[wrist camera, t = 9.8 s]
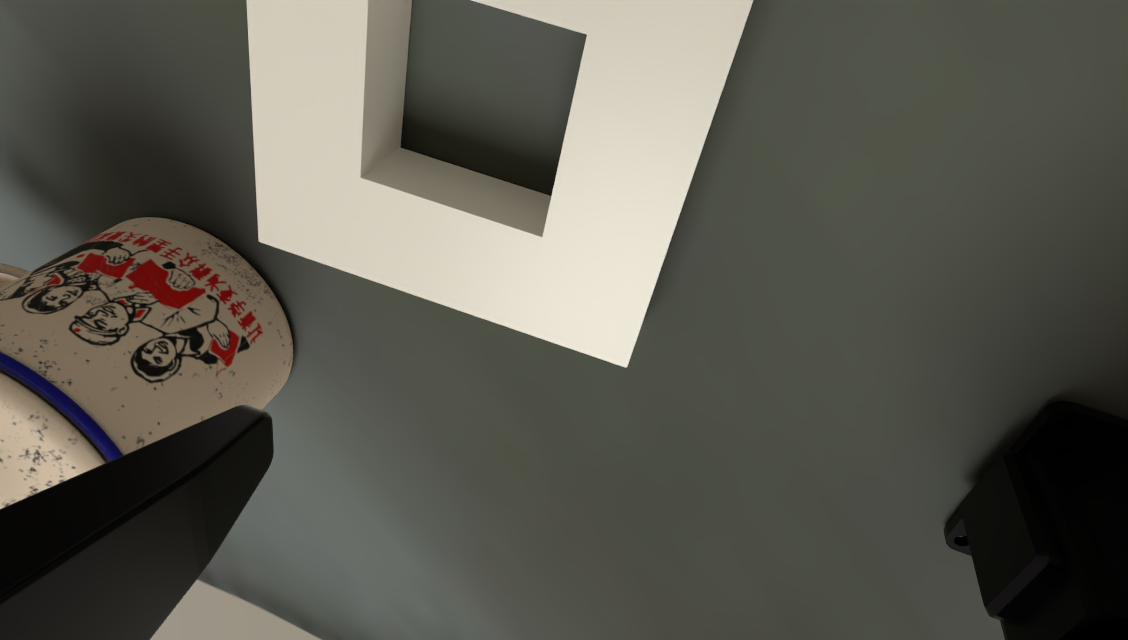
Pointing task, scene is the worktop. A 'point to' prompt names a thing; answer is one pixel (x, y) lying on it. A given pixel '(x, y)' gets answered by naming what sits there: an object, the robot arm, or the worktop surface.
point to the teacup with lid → (129, 348)
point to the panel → (476, 201)
